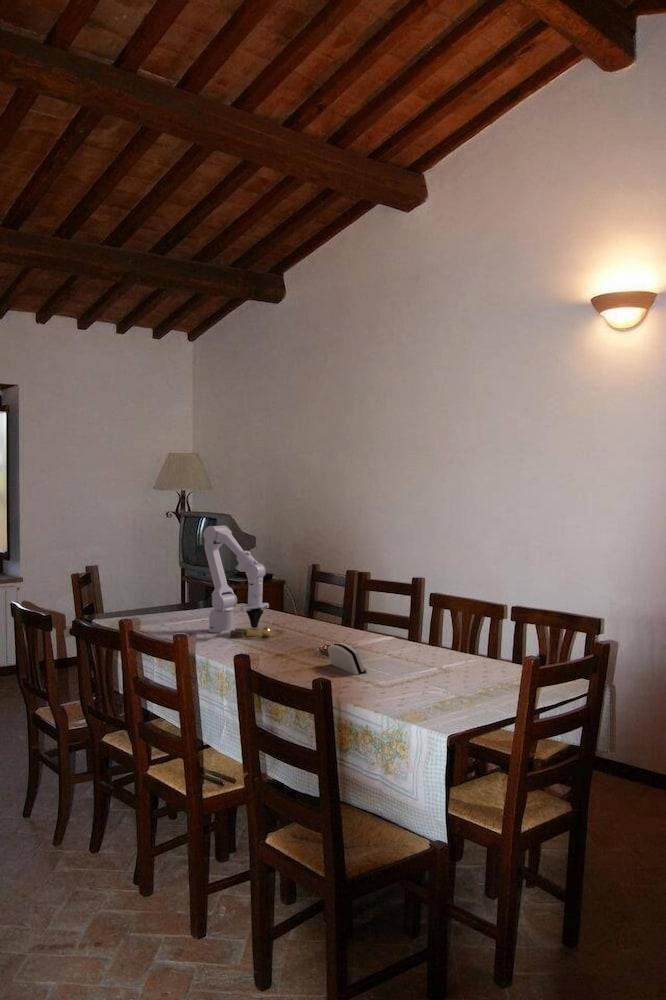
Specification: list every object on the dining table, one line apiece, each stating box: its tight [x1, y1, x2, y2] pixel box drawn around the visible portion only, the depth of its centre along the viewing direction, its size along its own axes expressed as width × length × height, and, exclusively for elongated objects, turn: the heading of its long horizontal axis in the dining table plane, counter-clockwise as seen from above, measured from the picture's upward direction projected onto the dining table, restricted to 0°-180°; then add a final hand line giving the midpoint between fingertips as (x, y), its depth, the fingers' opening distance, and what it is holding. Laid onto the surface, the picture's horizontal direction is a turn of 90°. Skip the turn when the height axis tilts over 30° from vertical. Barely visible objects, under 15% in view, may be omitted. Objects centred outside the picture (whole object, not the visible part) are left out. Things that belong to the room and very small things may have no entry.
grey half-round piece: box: [327, 642, 368, 676], centre depth 288 cm, size 17×5×10 cm, turn 31°
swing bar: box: [234, 626, 271, 637], centre depth 332 cm, size 14×3×3 cm, turn 78°
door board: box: [225, 627, 287, 642], centre depth 337 cm, size 19×23×4 cm
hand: (254, 627), depth 338 cm, fingers closed
